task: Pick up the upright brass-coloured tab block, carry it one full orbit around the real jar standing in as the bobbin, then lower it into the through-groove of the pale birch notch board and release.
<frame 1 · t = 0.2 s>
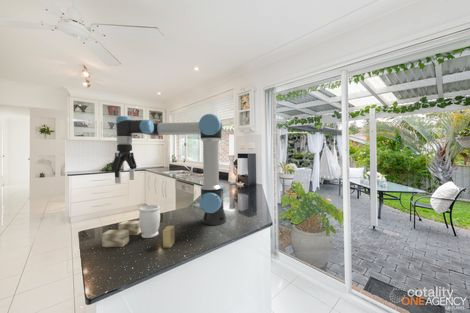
hand: (125, 181, 115), 28 cm above the counter, fingers open, 13 cm apart
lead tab: (169, 244, 97), on the counter
jar: (150, 235, 108), on the counter
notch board: (123, 238, 104), on the counter
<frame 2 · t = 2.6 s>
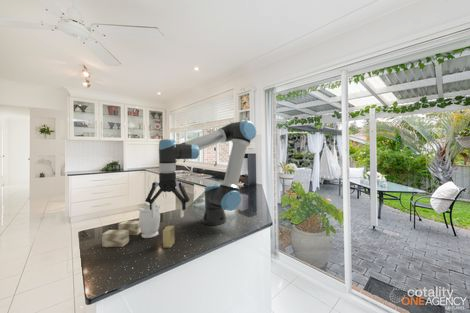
hand: (167, 216, 96), 13 cm above the counter, fingers open, 13 cm apart
nothing on the counter moved.
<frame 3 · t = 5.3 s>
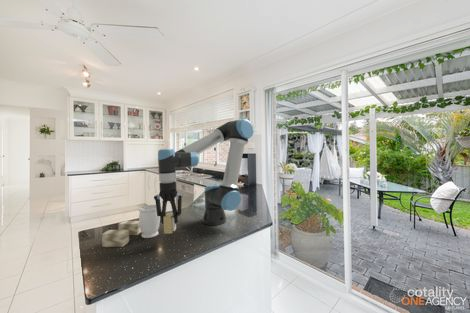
hand: (170, 229, 97), 7 cm above the counter, fingers closed on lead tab, 3 cm apart
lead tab: (170, 230, 97), point 6 cm above the counter, touching gripper
everything else where it was.
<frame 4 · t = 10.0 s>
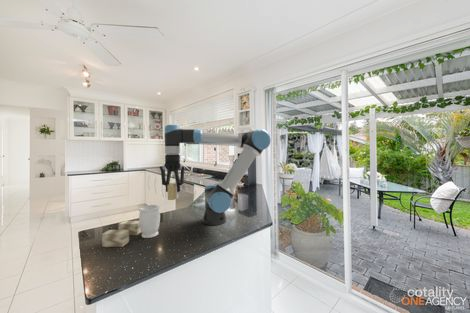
hand: (173, 197, 108), 20 cm above the counter, fingers closed on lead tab, 3 cm apart
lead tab: (173, 198, 108), point 19 cm above the counter, touching gripper
everything else where it was.
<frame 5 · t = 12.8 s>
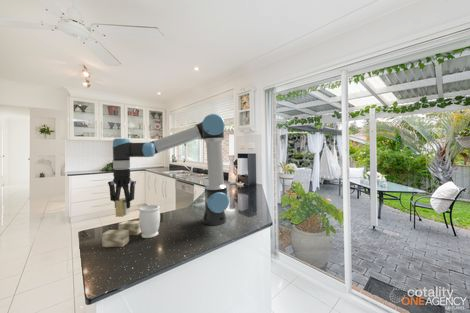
hand: (122, 214, 104), 13 cm above the counter, fingers closed on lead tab, 3 cm apart
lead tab: (122, 214, 104), point 12 cm above the counter, touching gripper
everything else where it was.
when the fingers open (1 cm above the counter, at t = 14.9 s): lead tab stays where it is, on the counter.
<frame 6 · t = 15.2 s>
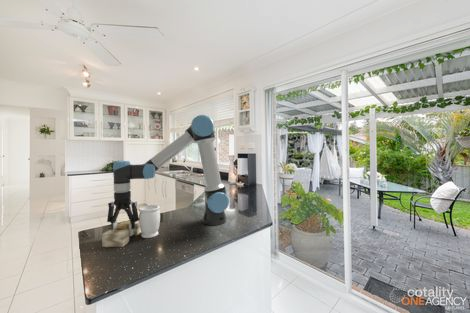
hand: (123, 235, 104), 2 cm above the counter, fingers open, 8 cm apart
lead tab: (123, 238, 104), on the counter
everything else where it was.
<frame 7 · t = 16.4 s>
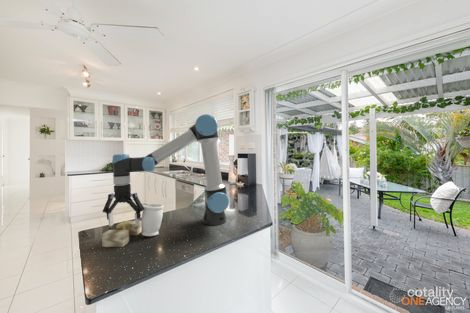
hand: (124, 225, 104), 7 cm above the counter, fingers open, 13 cm apart
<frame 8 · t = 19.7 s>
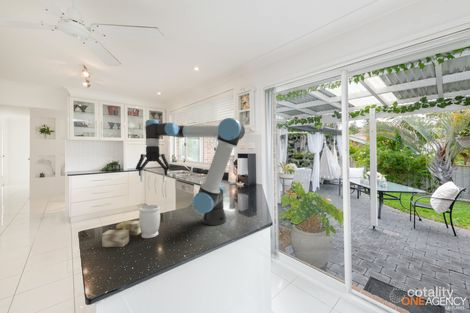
hand: (153, 181, 122), 27 cm above the counter, fingers open, 13 cm apart
at the end: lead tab inside the target area on the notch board (0.1 cm from its centre), point 0.0 cm above the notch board's base; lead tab tilted 0°; the gripper is holding nothing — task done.
